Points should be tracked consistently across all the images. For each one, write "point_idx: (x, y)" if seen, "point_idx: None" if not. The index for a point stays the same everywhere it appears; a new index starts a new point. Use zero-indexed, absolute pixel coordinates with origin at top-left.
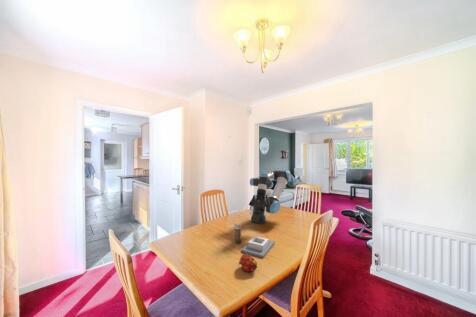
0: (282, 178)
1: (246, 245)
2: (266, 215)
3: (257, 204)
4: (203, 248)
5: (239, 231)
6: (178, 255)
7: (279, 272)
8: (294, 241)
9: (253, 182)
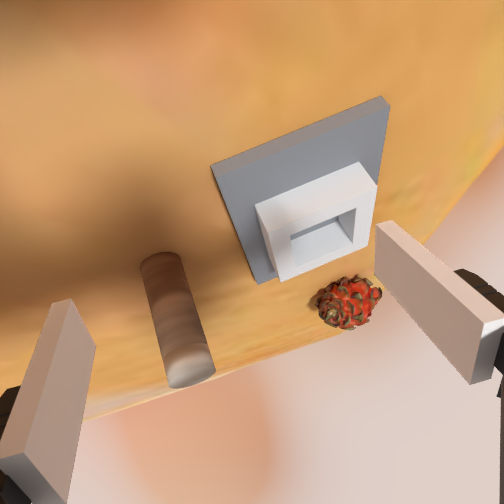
0: None
1: (251, 259)
2: (395, 224)
3: None
4: (110, 364)
5: (203, 331)
6: (109, 400)
7: (434, 228)
8: None
9: None
